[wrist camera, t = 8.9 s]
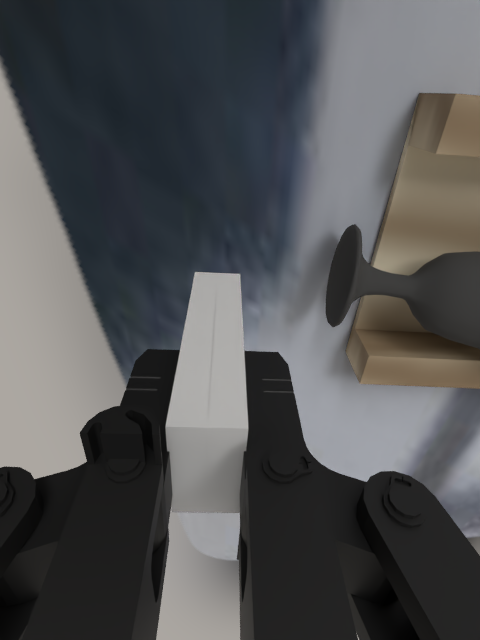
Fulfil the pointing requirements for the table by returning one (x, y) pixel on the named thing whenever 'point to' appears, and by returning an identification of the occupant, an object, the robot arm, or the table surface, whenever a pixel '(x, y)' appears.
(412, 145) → the rest
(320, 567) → the robot arm
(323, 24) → the table surface
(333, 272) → the sundae
